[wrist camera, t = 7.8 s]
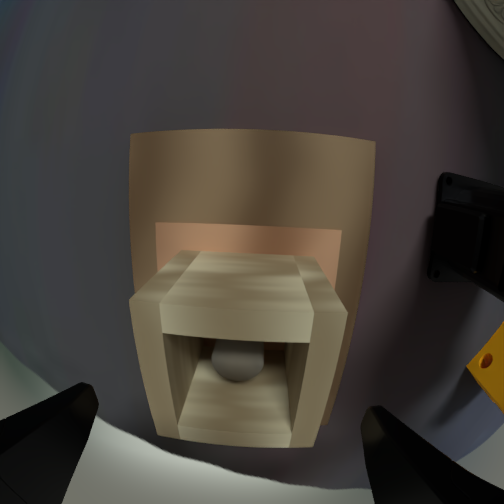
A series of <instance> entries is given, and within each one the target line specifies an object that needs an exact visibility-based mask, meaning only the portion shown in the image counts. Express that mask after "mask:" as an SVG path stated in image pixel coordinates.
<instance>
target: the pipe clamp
mask: <svg viewBox="0 0 504 504" xmlns="http://www.w3.org/2000/svg"><path fill="white" fill-rule="evenodd" d="M466 367H467V368H468V370H469V371H470V373H471V374H472V375H473V377H474V378H475V380H476V381H477V383H478V384H479V385H480V387H481V388H482V389H483V390H484V391H485V393H486V394H487V395H488V396H489V397H490V399H491V400H492V401H493V402H495V404H496V405H497V406H498V407H499V409H500V410H501V411H502V412H503V414H504V322H503V323H502V325H501V326H500V327H499V328H498V330H497V331H496V332H495V334H494V335H493V336H492V337H491V338H490V340H489V341H488V342H487V343H486V345H485V346H484V347H483V348H482V349H481V350H480V351H479V353H478V354H477V355H476V356H475V357H474V358H473V359H472V360H471V362H470V363H469V364H468V365H467V366H466Z"/></svg>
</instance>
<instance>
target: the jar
mask: <svg viewBox="0 0 504 504" xmlns="http://www.w3.org/2000/svg"><path fill="white" fill-rule="evenodd" d="M454 1H455V3H456V4H457V6H458V7H459V9H460V10H461V11H462V13H463V14H464V15H465V17H466V18H467V19H468V21H469V22H470V23H471V24H472V26H473V27H474V28H475V29H476V31H477V32H478V33H479V34H480V35H481V36H482V38H483V39H484V40H485V41H486V42H487V43H488V44H489V45H490V46H491V48H492V49H493V50H494V51H495V52H496V53H497V54H498V55H500V56H501V57H502V58H503V59H504V0H454Z"/></svg>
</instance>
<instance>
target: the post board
mask: <svg viewBox="0 0 504 504" xmlns="http://www.w3.org/2000/svg"><path fill="white" fill-rule="evenodd" d="M374 172H375V141H369V140H363V139H356V138H349V137H342V136H334V135H325V134H316V133H305V132H293V131H278V130H256V129H193V130H172V131H157V132H145V133H134V134H131V137H130V160H129V217H130V240H131V255H132V268H133V279H134V288H135V293H137V292H138V291H139V290H140V289H141V288H142V287H143V286H144V285H145V284H146V283H147V282H148V281H149V280H150V279H151V278H152V277H153V276H154V275H155V274H156V273H157V272H158V271H159V270H161V269H162V268H163V267H164V266H165V265H166V264H167V263H168V262H169V261H170V260H171V259H172V258H173V257H174V256H176V255H177V254H178V253H179V252H180V251H181V250H191V251H211V252H232V253H252V254H273V255H294V256H314V258H315V259H316V261H317V262H318V264H319V266H320V267H321V269H322V271H323V272H324V274H325V275H326V277H327V279H328V280H329V282H330V284H331V285H332V287H333V289H334V290H335V292H336V294H337V295H338V297H339V299H340V300H341V302H342V304H343V306H344V307H345V309H346V311H347V312H348V315H347V320H346V325H345V330H344V335H343V340H342V344H341V349H340V353H339V357H338V362H337V366H336V370H335V374H334V378H333V382H332V385H331V389H330V393H329V396H328V400H327V403H326V407H325V410H324V414H323V417H322V420H321V423H320V425H327V424H328V421H329V418H330V415H331V412H332V409H333V405H334V402H335V399H336V395H337V392H338V389H339V385H340V381H341V378H342V374H343V370H344V367H345V363H346V359H347V355H348V351H349V347H350V342H351V338H352V333H353V329H354V324H355V320H356V315H357V310H358V304H359V299H360V294H361V288H362V282H363V276H364V269H365V263H366V256H367V248H368V241H369V232H370V223H371V213H372V202H373V188H374ZM203 338H204V337H203ZM284 345H285V342H264V341H244V340H229V339H216V338H204V346H212V347H214V350H213V354H212V365H213V367H214V369H215V370H216V371H217V372H218V373H219V374H220V375H221V376H223V377H225V378H227V379H230V380H234V381H245V380H249V379H252V378H254V377H255V376H257V375H258V374H259V373H260V372H261V370H262V368H263V364H264V350H283V351H284Z"/></svg>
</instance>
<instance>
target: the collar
mask: <svg viewBox="0 0 504 504" xmlns="http://www.w3.org/2000/svg"><path fill="white" fill-rule="evenodd" d="M129 305H130V312H131V319H132V325H133V331H134V337H135V343H136V348H137V353H138V359H139V363H140V368H141V373H142V377H143V382H144V386H145V390H146V394H147V398H148V402H149V406H150V410H151V414H152V417H153V421H154V424H155V428H156V431H157V434H158V435H160V436H165V437H170V438H176V439H181V440H188V441H194V442H202V443H210V444H219V445H229V446H243V447H265V448H297V447H313V445H314V442H315V439H316V436H317V433H318V430H319V427H320V423H321V420H322V417H323V414H324V410H325V407H326V403H327V400H328V396H329V393H330V389H331V385H332V382H333V378H334V374H335V370H336V366H337V362H338V357H339V353H340V349H341V344H342V340H343V335H344V330H345V325H346V320H347V315H348V312H347V311H346V309H345V307H344V306H343V304H342V302H341V300H340V299H339V297H338V295H337V294H336V292H335V290H334V289H333V287H332V285H331V284H330V282H329V280H328V279H327V277H326V275H325V274H324V272H323V271H322V269H321V267H320V266H319V264H318V262H317V261H316V259H315V258H314V256H294V255H273V254H252V253H232V252H211V251H191V250H181V251H180V252H179V253H178V254H177V255H176V256H174V257H173V258H172V259H171V260H170V261H169V262H168V263H167V264H166V265H165V266H164V267H163V268H162V269H161V270H159V271H158V272H157V273H156V274H155V275H154V276H153V277H152V278H151V279H150V280H149V281H148V282H147V283H146V284H145V285H144V286H143V287H142V288H141V289H140V290H139V291H138V292H137V293H135V294H134V295H133V296H132V297H131V298H130V299H129ZM203 337H204V338H216V339H229V340H244V341H264V342H285V345H284V351H283V350H264V364H263V368H262V370H261V372H260V373H259V374H258V375H257V376H255V377H254V378H252V379H249V380H245V381H234V380H230V379H227V378H225V377H223V376H221V375H220V374H219V373H218V372H217V371H216V370H215V369H214V367H213V365H212V354H213V350H214V347H212V346H204V338H203Z"/></svg>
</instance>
